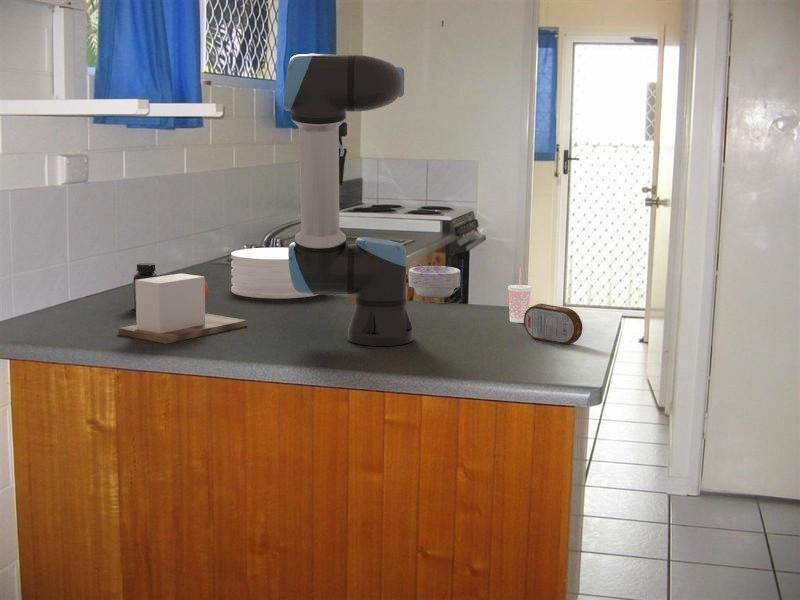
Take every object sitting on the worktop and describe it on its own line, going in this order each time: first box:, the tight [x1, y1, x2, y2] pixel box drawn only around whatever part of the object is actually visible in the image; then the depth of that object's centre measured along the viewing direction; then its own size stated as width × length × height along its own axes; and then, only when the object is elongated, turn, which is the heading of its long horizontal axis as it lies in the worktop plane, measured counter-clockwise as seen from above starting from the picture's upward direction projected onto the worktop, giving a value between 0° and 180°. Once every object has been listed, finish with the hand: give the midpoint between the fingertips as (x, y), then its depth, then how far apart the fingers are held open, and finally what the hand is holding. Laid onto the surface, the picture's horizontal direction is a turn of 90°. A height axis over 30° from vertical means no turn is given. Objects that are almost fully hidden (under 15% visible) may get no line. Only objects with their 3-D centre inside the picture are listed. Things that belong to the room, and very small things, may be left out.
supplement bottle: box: [132, 262, 160, 310], centre depth 263 cm, size 7×7×12 cm
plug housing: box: [135, 273, 206, 333], centre depth 232 cm, size 14×8×12 cm, turn 145°
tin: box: [523, 303, 583, 345], centre depth 230 cm, size 15×3×8 cm, turn 47°
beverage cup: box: [507, 266, 533, 324], centre depth 254 cm, size 6×6×14 cm
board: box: [117, 312, 248, 345], centre depth 236 cm, size 26×16×2 cm, turn 145°
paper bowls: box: [408, 265, 461, 299], centre depth 291 cm, size 15×15×8 cm
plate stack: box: [230, 247, 320, 299], centre depth 296 cm, size 28×28×12 cm
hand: (332, 211), depth 262 cm, fingers closed
